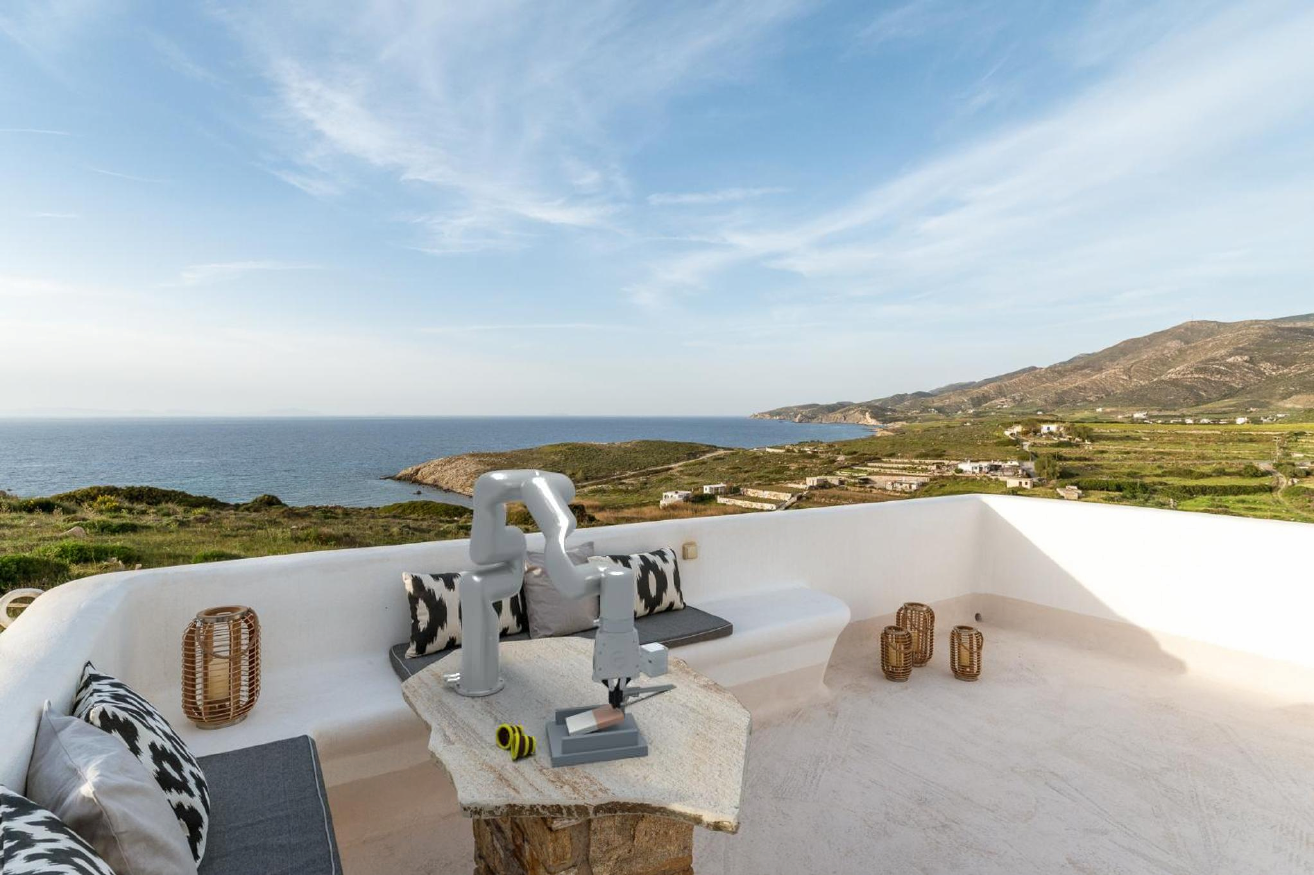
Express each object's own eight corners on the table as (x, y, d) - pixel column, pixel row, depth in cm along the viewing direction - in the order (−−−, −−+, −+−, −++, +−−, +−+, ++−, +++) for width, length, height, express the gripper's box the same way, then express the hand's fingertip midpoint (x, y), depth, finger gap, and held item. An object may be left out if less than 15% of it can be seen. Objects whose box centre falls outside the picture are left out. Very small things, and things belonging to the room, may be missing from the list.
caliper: (618, 710, 151) (618, 685, 151) (615, 709, 152) (616, 684, 152) (676, 688, 165) (677, 665, 165) (674, 687, 166) (674, 664, 166)
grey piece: (552, 767, 125) (553, 742, 125) (545, 730, 140) (546, 708, 140) (647, 755, 130) (648, 731, 130) (631, 721, 145) (631, 700, 145)
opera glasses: (535, 760, 129) (540, 736, 130) (513, 763, 126) (518, 738, 126) (514, 742, 137) (518, 719, 137) (492, 744, 133) (497, 721, 134)
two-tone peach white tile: (570, 738, 130) (569, 733, 130) (566, 723, 137) (565, 718, 137) (624, 720, 133) (623, 715, 133) (618, 706, 140) (617, 701, 140)
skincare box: (638, 671, 176) (639, 645, 176) (655, 666, 180) (656, 641, 180) (651, 678, 172) (651, 651, 172) (668, 673, 175) (668, 647, 175)
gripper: (585, 631, 131) (584, 717, 131) (653, 626, 134) (652, 710, 135) (580, 621, 138) (579, 702, 138) (645, 616, 142) (644, 696, 142)
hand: (615, 706), depth 136 cm, fingers closed
